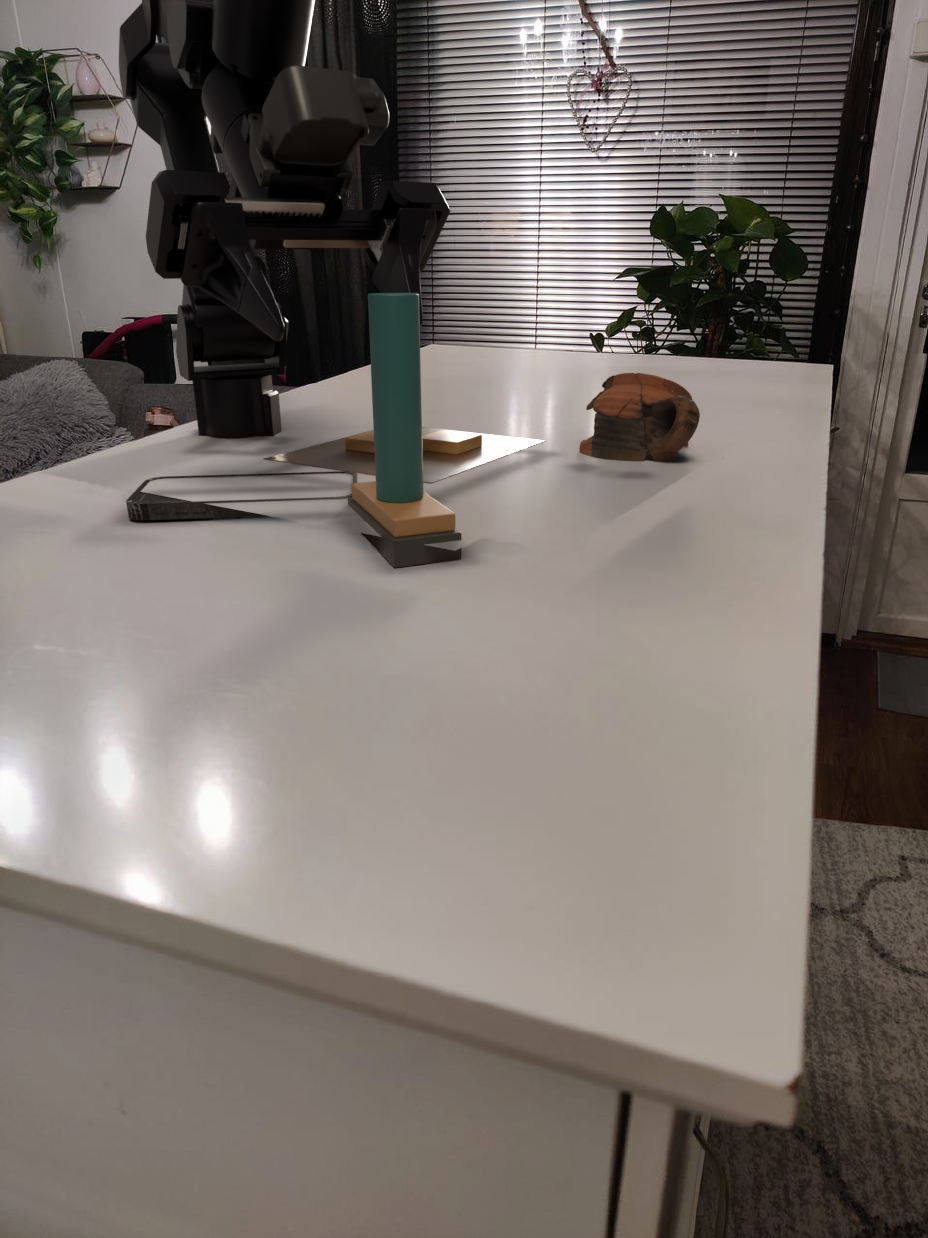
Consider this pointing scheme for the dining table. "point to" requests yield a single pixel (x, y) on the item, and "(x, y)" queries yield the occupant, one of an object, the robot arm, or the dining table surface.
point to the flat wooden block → (361, 442)
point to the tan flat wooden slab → (451, 442)
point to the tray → (433, 462)
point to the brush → (400, 443)
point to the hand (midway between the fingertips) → (352, 331)
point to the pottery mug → (640, 419)
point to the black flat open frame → (199, 502)
